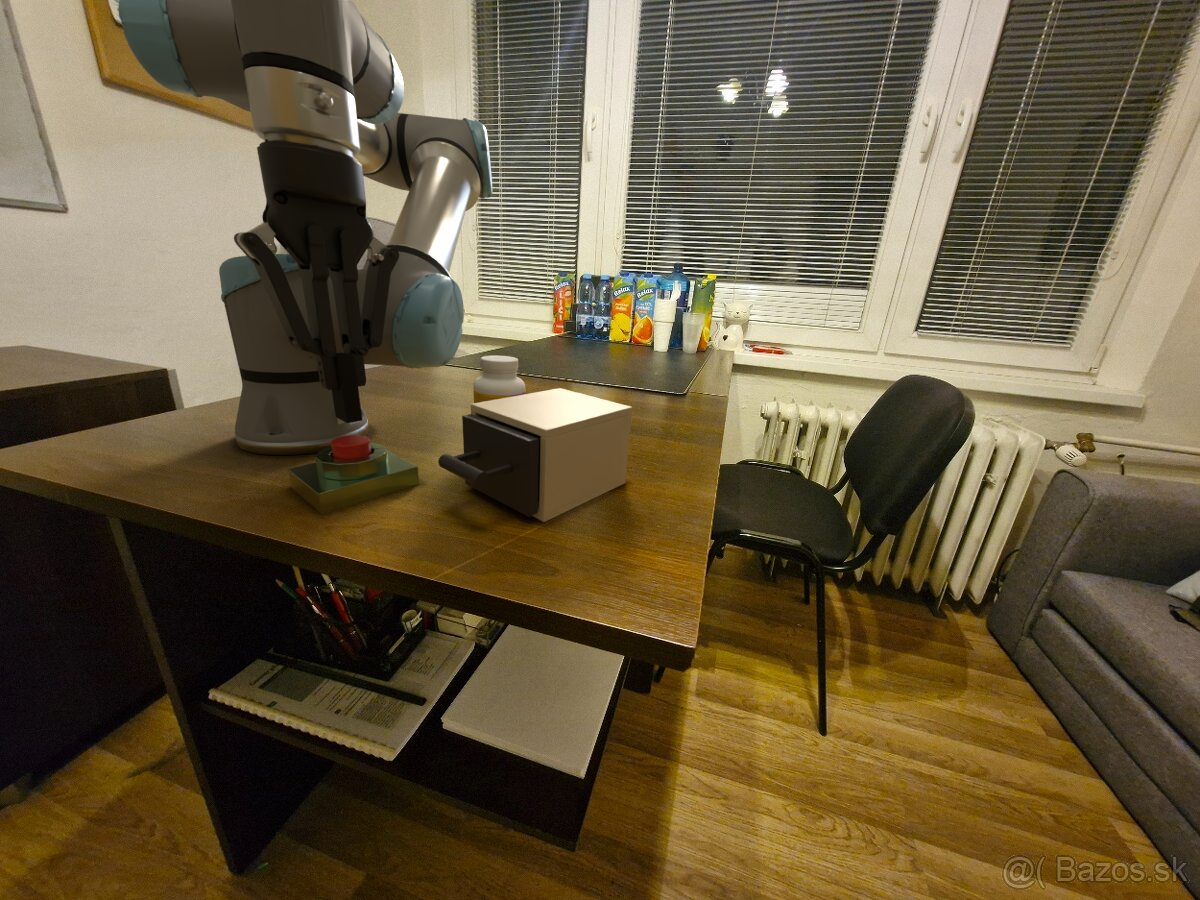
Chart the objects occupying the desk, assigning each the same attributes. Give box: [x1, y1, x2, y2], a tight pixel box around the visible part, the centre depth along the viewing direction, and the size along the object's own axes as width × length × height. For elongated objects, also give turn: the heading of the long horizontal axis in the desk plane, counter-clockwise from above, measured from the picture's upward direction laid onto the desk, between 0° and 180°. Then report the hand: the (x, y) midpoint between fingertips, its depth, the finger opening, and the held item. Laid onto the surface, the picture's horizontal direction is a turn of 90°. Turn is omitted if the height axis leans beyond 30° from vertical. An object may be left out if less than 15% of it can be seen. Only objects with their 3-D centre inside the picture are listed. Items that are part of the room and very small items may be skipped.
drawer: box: [438, 413, 541, 518], centre depth 47 cm, size 17×10×8 cm, turn 141°
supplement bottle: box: [472, 355, 527, 404], centre depth 58 cm, size 7×7×13 cm
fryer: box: [470, 387, 633, 523], centre depth 50 cm, size 14×12×10 cm
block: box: [287, 441, 420, 515], centre depth 47 cm, size 8×10×4 cm
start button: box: [331, 435, 372, 460], centre depth 46 cm, size 4×4×2 cm
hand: (348, 418), depth 45 cm, fingers closed
